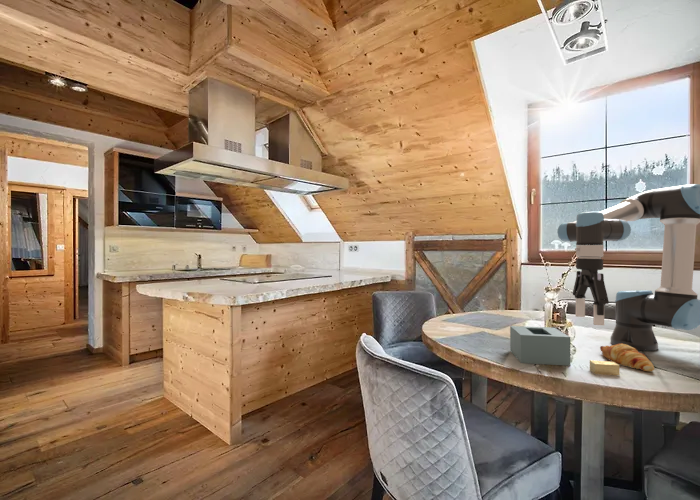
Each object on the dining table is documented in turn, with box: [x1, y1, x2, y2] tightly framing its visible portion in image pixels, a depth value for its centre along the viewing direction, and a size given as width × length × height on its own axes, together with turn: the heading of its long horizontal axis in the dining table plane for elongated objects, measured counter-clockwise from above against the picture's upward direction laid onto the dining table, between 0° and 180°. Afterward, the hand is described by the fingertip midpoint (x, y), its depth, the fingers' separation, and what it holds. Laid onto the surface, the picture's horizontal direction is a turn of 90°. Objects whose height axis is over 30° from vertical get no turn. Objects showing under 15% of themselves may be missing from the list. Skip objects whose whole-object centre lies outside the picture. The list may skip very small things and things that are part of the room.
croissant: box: [599, 343, 655, 372], centre depth 119 cm, size 21×10×8 cm, turn 4°
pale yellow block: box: [589, 359, 621, 376], centre depth 110 cm, size 7×4×4 cm, turn 78°
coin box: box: [509, 325, 571, 366], centre depth 125 cm, size 16×14×10 cm
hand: (588, 320), depth 113 cm, fingers open, 13 cm apart
